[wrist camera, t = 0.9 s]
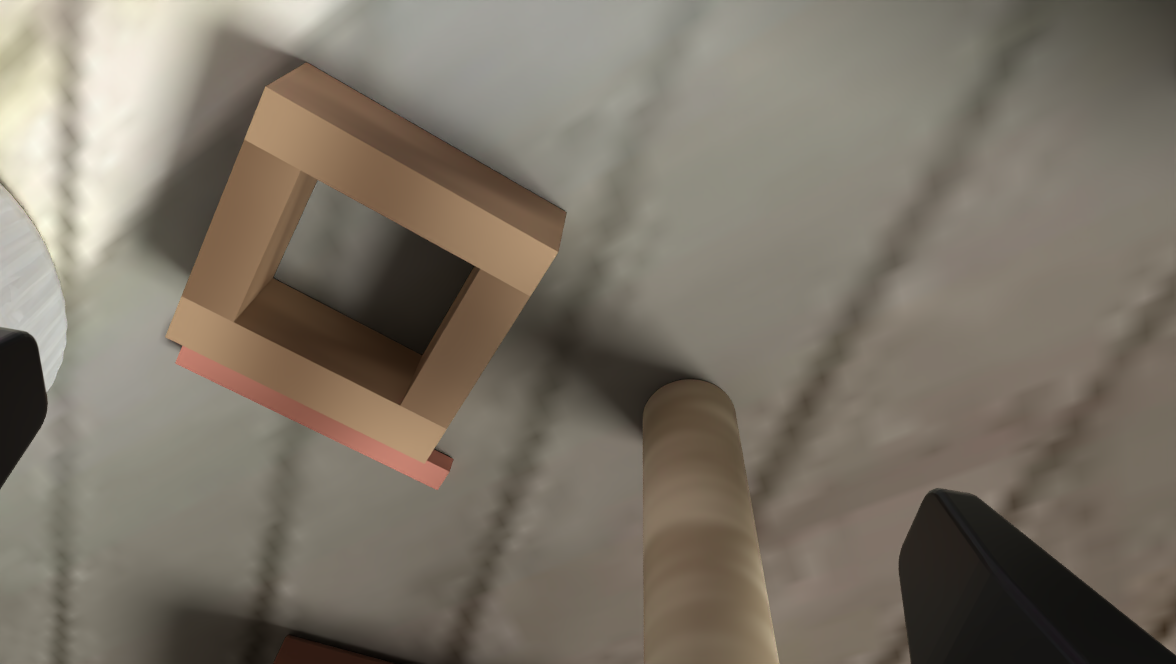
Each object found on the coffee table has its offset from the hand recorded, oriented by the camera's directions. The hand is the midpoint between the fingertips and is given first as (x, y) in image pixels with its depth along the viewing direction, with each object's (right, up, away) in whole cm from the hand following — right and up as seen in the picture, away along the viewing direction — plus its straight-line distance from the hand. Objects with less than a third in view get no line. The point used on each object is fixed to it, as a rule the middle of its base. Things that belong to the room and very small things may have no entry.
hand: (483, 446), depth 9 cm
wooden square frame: (-4, +2, +14) cm, 15 cm away
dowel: (+4, -1, +16) cm, 16 cm away
